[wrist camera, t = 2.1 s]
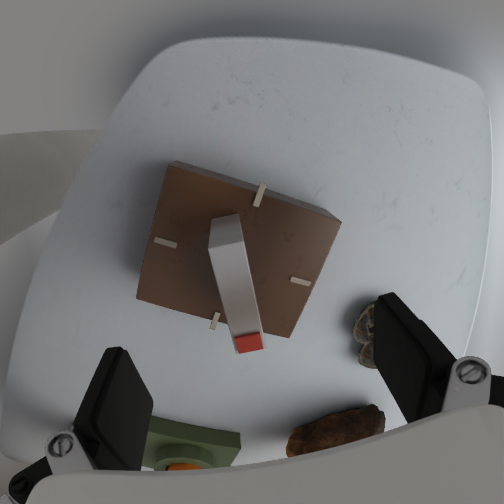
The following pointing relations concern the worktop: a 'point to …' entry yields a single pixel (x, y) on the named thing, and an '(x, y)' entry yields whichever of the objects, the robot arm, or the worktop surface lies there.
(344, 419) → the decorative rock
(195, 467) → the button
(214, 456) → the button box
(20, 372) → the worktop surface
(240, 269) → the tap handle
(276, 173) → the worktop surface
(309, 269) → the block
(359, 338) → the corroded twin loop
